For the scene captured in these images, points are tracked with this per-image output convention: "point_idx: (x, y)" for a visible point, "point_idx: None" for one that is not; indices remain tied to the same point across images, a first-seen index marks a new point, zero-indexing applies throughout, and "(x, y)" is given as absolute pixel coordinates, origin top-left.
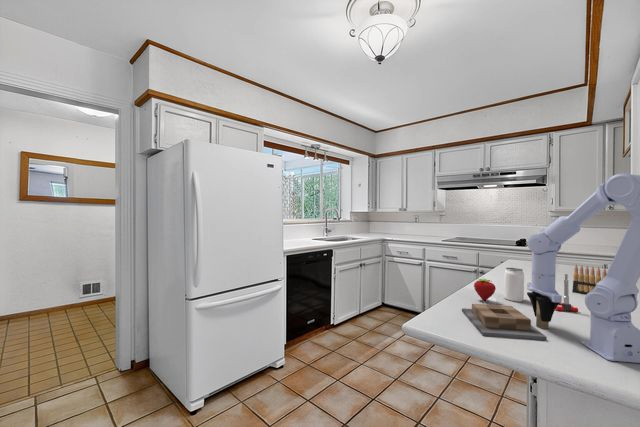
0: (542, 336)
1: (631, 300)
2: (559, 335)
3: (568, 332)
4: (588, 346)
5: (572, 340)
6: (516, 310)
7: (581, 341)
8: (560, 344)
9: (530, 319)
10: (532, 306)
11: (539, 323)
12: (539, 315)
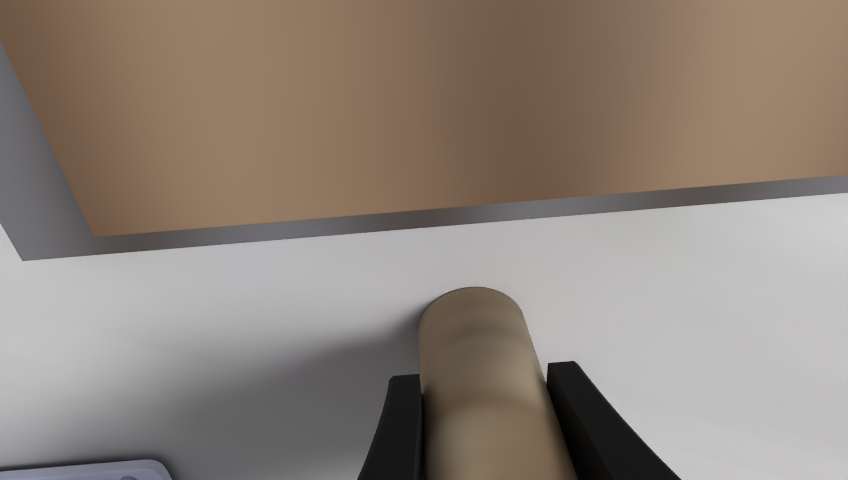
0: (3, 222)
1: None
2: (281, 383)
3: None
4: (57, 473)
5: (199, 426)
6: (610, 167)
7: (146, 469)
8: (21, 318)
9: (107, 235)
10: (655, 454)
11: (439, 331)
12: (449, 409)
